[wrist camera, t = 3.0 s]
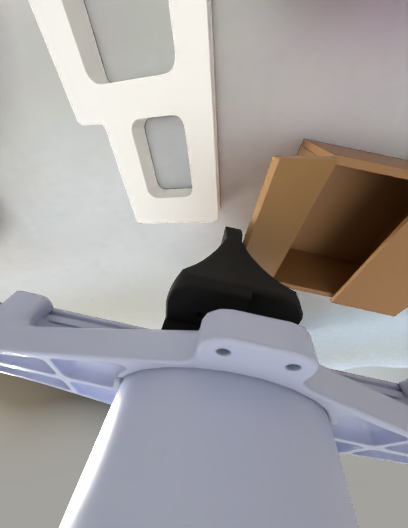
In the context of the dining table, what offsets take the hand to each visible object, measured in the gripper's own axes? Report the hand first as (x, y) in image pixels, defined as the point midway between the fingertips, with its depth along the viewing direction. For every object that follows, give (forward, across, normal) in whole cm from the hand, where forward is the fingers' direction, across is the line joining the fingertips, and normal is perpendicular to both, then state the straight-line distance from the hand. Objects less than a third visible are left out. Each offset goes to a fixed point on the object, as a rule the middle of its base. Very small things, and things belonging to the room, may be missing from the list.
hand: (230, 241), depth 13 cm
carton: (+10, -11, 0) cm, 15 cm away
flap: (0, -3, 0) cm, 3 cm away
